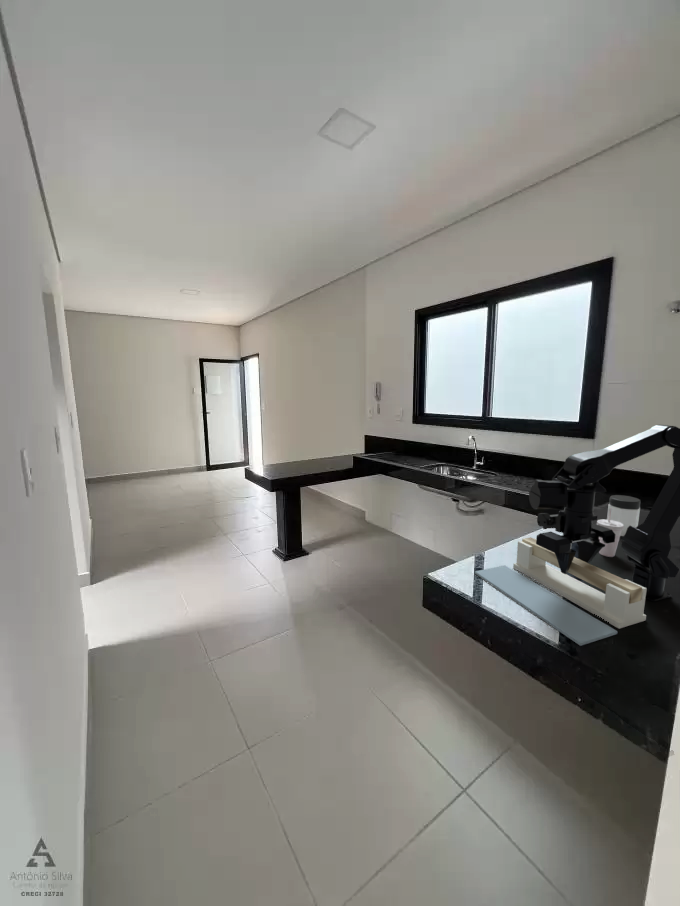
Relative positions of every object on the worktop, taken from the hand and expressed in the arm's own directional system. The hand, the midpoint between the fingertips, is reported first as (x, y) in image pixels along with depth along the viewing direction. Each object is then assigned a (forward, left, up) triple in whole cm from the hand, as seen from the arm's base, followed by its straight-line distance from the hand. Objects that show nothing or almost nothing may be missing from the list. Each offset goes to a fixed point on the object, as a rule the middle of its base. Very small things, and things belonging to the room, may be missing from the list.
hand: (572, 571), depth 88 cm
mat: (+11, 0, -5) cm, 12 cm away
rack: (0, 0, -5) cm, 5 cm away
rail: (0, 0, 0) cm, 0 cm away
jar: (-49, -21, -5) cm, 54 cm away
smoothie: (-28, -11, -5) cm, 31 cm away
